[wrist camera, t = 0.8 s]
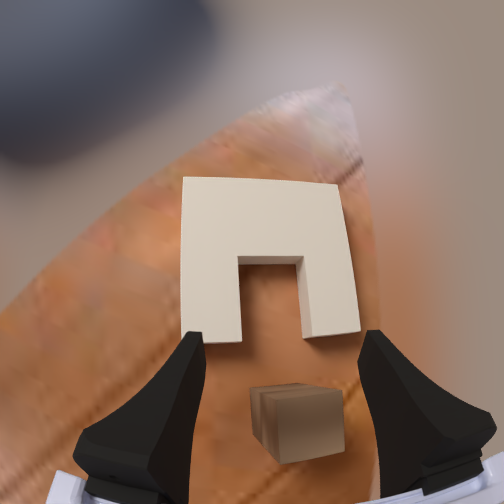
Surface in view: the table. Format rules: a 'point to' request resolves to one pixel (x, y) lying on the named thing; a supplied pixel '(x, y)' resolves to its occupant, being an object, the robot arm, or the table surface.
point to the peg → (298, 421)
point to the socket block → (264, 252)
